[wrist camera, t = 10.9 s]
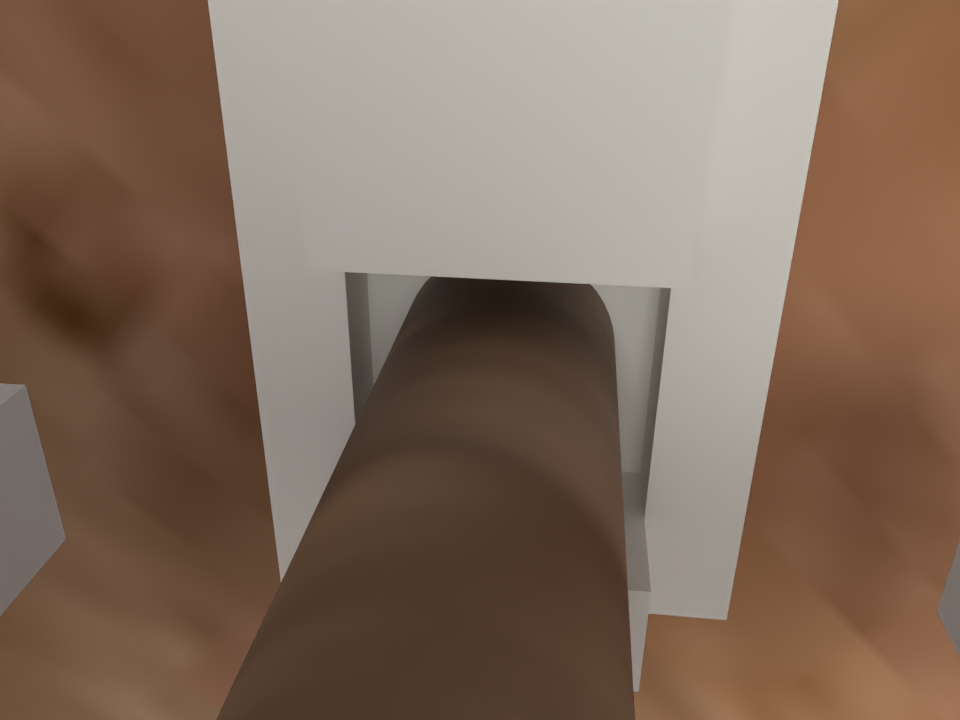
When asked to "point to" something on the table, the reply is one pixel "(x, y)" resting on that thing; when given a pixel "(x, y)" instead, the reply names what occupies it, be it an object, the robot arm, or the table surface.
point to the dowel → (465, 528)
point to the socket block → (529, 223)
